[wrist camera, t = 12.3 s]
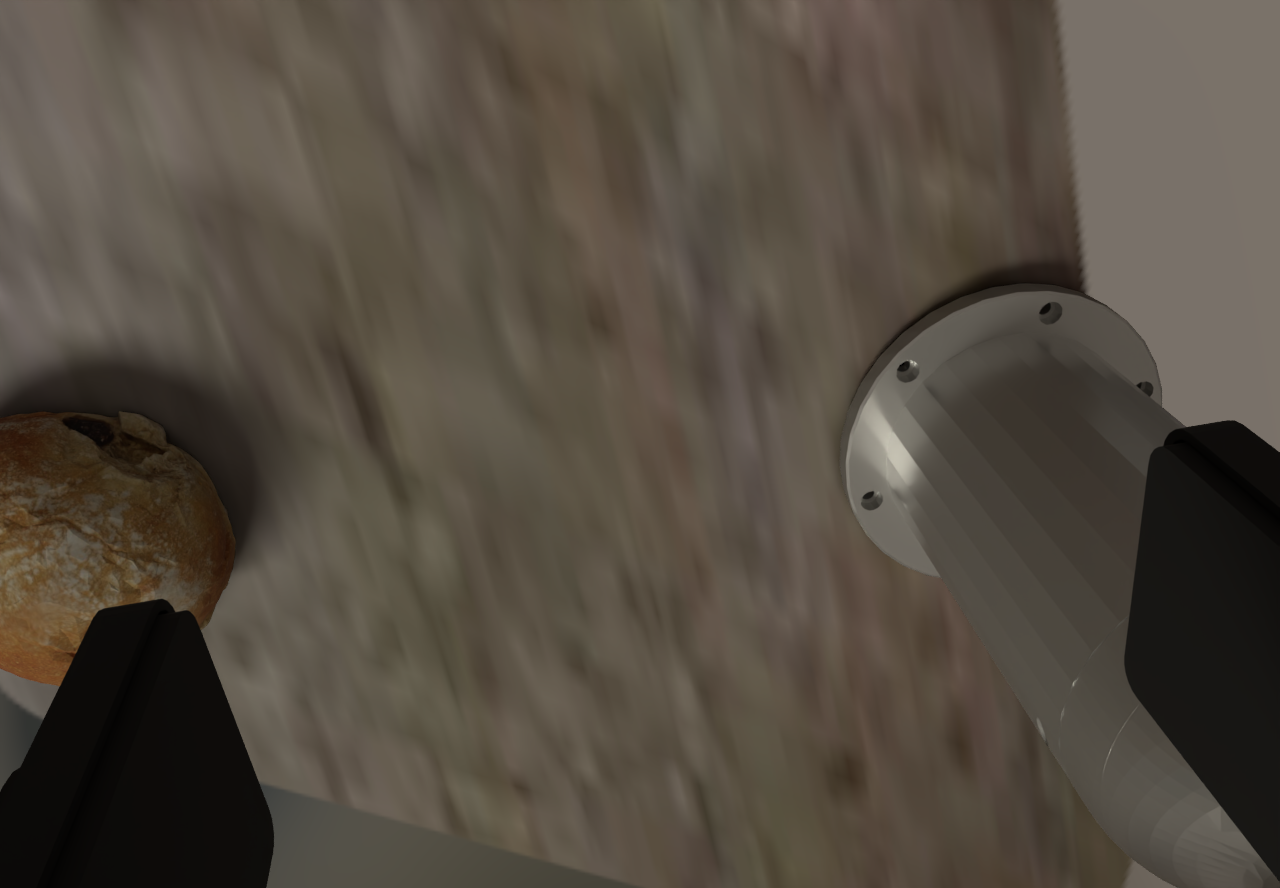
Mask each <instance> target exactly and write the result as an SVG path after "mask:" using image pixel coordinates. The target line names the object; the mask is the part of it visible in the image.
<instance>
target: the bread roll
mask: <svg viewBox="0 0 1280 888" xmlns="http://www.w3.org/2000/svg"><path fill="white" fill-rule="evenodd" d="M235 544H236V539H235V537H234V536H233V532H232V526H231V524H230V520H229V519H228V511H227V509H226V508H225V507H224V506H223V504H222V502H221V500H220V498H219V497H218V494H217V491H216V489H215V487H214V485H213V483H212V481H211V479H210V477H209V475H208V474H207V473H206V471H205V470H204V468H203V467H202V465H201V464H200V463H199V462H198V461H197V460H195V459H194V458H193V457H192V456H190V455H189V454H188V453H187V452H185V451H183V450H182V449H180V448H179V447H176V446H174V445H171V444H169V443H167V441H166V433H165V431H164V428H163V426H161V425H159V424H158V423H156V422H154V421H152V420H150V419H148V418H146V417H144V416H143V415H141V414H134V413H127V412H120V411H119V413H118V417H106V416H103V415H97V414H87V413H74V412H63V413H57V414H55V413H51V412H44V411H42V412H36V413H30V414H16V415H12V416H8V417H3V418H0V668H1V669H3V670H5V671H8V672H10V673H13V674H15V675H17V676H19V677H22V678H25V679H28V680H33V681H37V682H40V683H46V684H52V685H57V686H60V685H61V683H62V681H63V679H64V677H65V675H66V673H67V671H68V669H69V666H70V664H71V662H72V660H73V658H74V656H75V654H76V652H77V650H78V648H79V646H80V644H81V642H82V640H83V638H84V636H85V634H86V631H87V629H88V627H89V625H90V623H91V621H92V619H93V617H94V616H95V615H96V613H97V612H98V611H99V610H101V609H104V608H109V607H115V606H121V605H127V604H133V603H139V602H145V601H151V600H157V599H164V600H167V601H168V602H169V603H170V604H171V605H172V606H173V608H174V610H175V612H178V611H184V610H188V611H190V612H191V613H192V614H193V615H194V616H195V618H196V620H197V622H198V625H199V627H200V630H202V629H203V628H204V627H206V626H207V625H208V623H209V622H210V619H211V617H212V614H213V611H214V609H215V605H216V603H217V602H218V600H219V598H220V596H221V594H222V591H223V590H224V589H225V588H226V586H227V584H228V581H229V578H230V574H231V572H232V569H233V563H234V557H235Z"/></svg>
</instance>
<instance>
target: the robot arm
mask: <svg viewBox="0 0 1280 888" xmlns="http://www.w3.org/2000/svg"><path fill="white" fill-rule="evenodd" d="M1043 306H1044V307H1043ZM1042 307H1043V308H1042ZM905 361H906V362H905ZM904 362H905V364H904V365H903V366H901V367H899V365H901V364H902V363H904ZM840 471H841V477H842V483H843V488H844V492H845V495H846V497H847V499H848V502H849V504H850V506H851V509H852V511H853V513H854V515H855V517H856V518H857V520H858V522H859V523H860V525H861V526H862V528H863V530H864V531H865V533H866V535H867V536H868V537H869V538H870V539H871V540H872V541H873V542H874V543H875V544H876V545H877V546H878V548H879V549H880V550H881V551H882V552H883V553H885V554H886V555H888V556H889V557H891V558H892V559H894V560H895V561H897V562H898V563H900V564H901V565H903V566H905V567H907V568H910V569H912V570H915V571H917V572H920V573H923V574H925V575H928V576H934V577H939V578H942V580H943V581H944V583H945V584H946V586H947V588H948V589H949V591H950V592H951V594H952V595H953V597H954V599H955V600H956V602H957V603H958V605H959V607H960V608H961V610H962V611H963V613H964V614H965V616H966V618H967V619H968V621H969V622H970V624H971V626H972V627H973V629H974V630H975V632H976V633H977V635H978V637H979V638H980V640H981V641H982V643H983V644H984V646H985V648H986V649H987V651H988V652H989V654H990V656H991V657H992V659H993V660H994V662H995V663H996V665H997V667H998V668H999V670H1000V671H1001V673H1002V675H1003V676H1004V678H1005V679H1006V681H1007V682H1008V684H1009V686H1010V687H1011V689H1012V690H1013V692H1014V693H1015V695H1016V697H1017V698H1018V700H1019V701H1020V703H1021V705H1022V706H1023V708H1024V709H1025V711H1026V712H1027V714H1028V716H1029V717H1030V719H1031V720H1032V722H1033V724H1034V725H1035V727H1036V728H1037V730H1038V731H1039V733H1040V735H1041V736H1042V738H1043V739H1044V741H1045V742H1046V744H1047V746H1048V747H1049V749H1050V750H1051V752H1052V753H1053V755H1054V756H1055V758H1056V760H1057V761H1058V763H1059V764H1060V766H1061V767H1062V769H1063V770H1064V772H1065V773H1066V775H1067V776H1068V778H1069V780H1070V781H1071V783H1072V785H1073V786H1074V788H1075V790H1076V791H1077V793H1078V794H1079V796H1080V797H1081V799H1082V800H1083V802H1084V803H1085V805H1086V807H1087V808H1088V810H1089V811H1090V813H1091V814H1092V816H1093V817H1094V818H1095V820H1096V821H1097V822H1098V824H1099V825H1100V826H1101V827H1102V829H1103V830H1104V831H1105V832H1106V834H1107V835H1108V836H1109V837H1110V838H1111V839H1112V840H1113V841H1114V842H1115V843H1116V844H1117V845H1118V846H1119V847H1120V848H1121V849H1122V850H1123V851H1124V852H1125V853H1126V854H1127V855H1128V856H1129V857H1131V858H1132V859H1133V860H1134V861H1136V862H1137V863H1138V864H1140V865H1141V866H1143V867H1144V868H1145V869H1147V870H1148V871H1149V872H1151V873H1153V874H1154V875H1155V876H1157V877H1158V878H1160V879H1162V880H1163V881H1165V882H1167V883H1169V884H1171V885H1173V886H1175V887H1177V888H1280V452H1278V451H1277V450H1276V449H1274V448H1273V447H1272V446H1270V445H1269V444H1268V443H1266V442H1265V441H1264V440H1263V439H1261V438H1260V437H1258V436H1257V435H1256V434H1255V433H1253V432H1252V431H1251V430H1249V429H1248V428H1247V427H1245V426H1244V425H1243V424H1241V423H1238V422H1237V421H1221V422H1215V423H1209V424H1203V425H1197V426H1191V427H1185V426H1184V425H1183V424H1182V423H1181V422H1179V421H1178V420H1177V419H1176V418H1174V417H1173V416H1172V415H1171V414H1170V413H1168V412H1167V411H1166V410H1165V409H1164V408H1162V388H1161V384H1160V379H1159V375H1158V371H1157V366H1156V363H1155V361H1154V359H1153V357H1152V355H1151V353H1150V352H1149V349H1148V347H1147V345H1146V343H1145V341H1144V340H1143V339H1142V338H1141V336H1140V335H1139V334H1138V333H1137V332H1136V331H1135V330H1134V328H1133V327H1132V326H1131V325H1130V324H1129V323H1128V322H1127V321H1126V320H1125V319H1124V318H1122V317H1121V316H1120V315H1118V314H1117V313H1116V312H1114V311H1113V310H1112V309H1110V308H1109V307H1108V306H1107V305H1105V304H1103V303H1101V302H1099V301H1097V300H1095V299H1094V298H1092V297H1090V296H1088V295H1086V294H1084V293H1082V292H1079V291H1075V290H1071V289H1068V288H1064V287H1060V286H1056V285H1047V284H1029V283H1021V284H1014V285H1006V286H999V287H992V288H988V289H985V290H982V291H979V292H976V293H973V294H970V295H966V296H963V297H960V298H958V299H956V300H954V301H952V302H950V303H948V304H947V305H945V306H943V307H941V308H939V309H937V310H935V311H933V312H931V313H929V314H928V315H927V316H925V317H924V318H922V319H921V320H920V321H918V322H917V323H916V324H914V325H913V326H912V327H910V328H909V329H907V330H906V331H905V332H903V333H902V334H901V335H900V336H899V337H898V338H897V339H896V340H895V341H894V342H893V343H892V344H891V345H890V346H889V347H888V348H887V349H886V351H885V352H884V353H883V354H882V355H881V356H880V357H879V358H878V359H877V361H876V362H875V364H874V365H873V367H872V368H871V369H870V371H869V372H868V374H867V375H866V377H865V378H864V379H863V381H862V382H861V384H860V386H859V388H858V391H857V393H856V395H855V397H854V399H853V401H852V403H851V405H850V408H849V410H848V413H847V417H846V421H845V425H844V428H843V432H842V436H841V447H840ZM273 847H274V831H273V823H272V818H271V814H270V810H269V808H268V805H267V802H266V800H265V797H264V795H263V792H262V789H261V787H260V784H259V781H258V779H257V776H256V774H255V771H254V768H253V766H252V763H251V761H250V758H249V755H248V753H247V750H246V747H245V745H244V742H243V740H242V737H241V734H240V732H239V729H238V727H237V724H236V721H235V719H234V716H233V713H232V711H231V708H230V706H229V703H228V700H227V698H226V695H225V693H224V690H223V687H222V685H221V682H220V679H219V677H218V674H217V672H216V669H215V666H214V664H213V661H212V659H211V656H210V653H209V651H208V648H207V646H206V643H205V640H204V638H203V635H202V632H201V630H200V627H199V625H198V622H197V620H196V618H195V616H194V615H193V614H192V613H191V612H190V611H188V610H184V611H178V612H175V610H174V608H173V606H172V605H171V604H170V603H169V602H168V601H167V600H164V599H157V600H151V601H145V602H139V603H133V604H127V605H121V606H115V607H109V608H104V609H101V610H99V611H98V612H97V613H96V615H95V616H94V617H93V619H92V621H91V623H90V625H89V627H88V629H87V631H86V634H85V636H84V638H83V640H82V642H81V644H80V646H79V648H78V650H77V652H76V654H75V656H74V658H73V660H72V662H71V664H70V666H69V669H68V671H67V673H66V675H65V677H64V679H63V681H62V683H61V685H60V687H59V689H58V691H57V693H56V695H55V697H54V699H53V701H52V703H51V706H50V708H49V710H48V712H47V714H46V716H45V718H44V720H43V722H42V724H41V726H40V728H39V730H38V732H37V734H36V736H35V739H34V741H33V743H32V745H31V747H30V749H29V751H28V753H27V755H26V757H25V759H24V761H23V763H22V765H21V767H20V768H19V769H17V770H15V771H14V772H13V773H12V774H11V776H10V777H9V778H8V780H7V781H6V783H5V784H4V786H3V787H2V789H1V792H0V888H266V886H267V881H268V876H269V871H270V866H271V860H272V855H273Z"/></svg>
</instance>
